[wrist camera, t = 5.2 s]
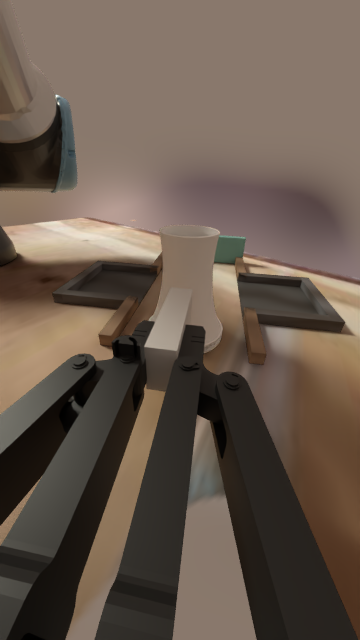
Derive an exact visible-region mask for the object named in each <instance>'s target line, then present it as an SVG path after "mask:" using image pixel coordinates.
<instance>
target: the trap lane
mask: <svg viewBox="0 0 360 640" xmlns="http://www.w3.org/2000/svg"><path fill="white" fill-rule="evenodd" d="M162 268H163V258H162V252H161V254H160V255H159V256H158V258H157V259H156V260H155V262H154V263H153V264H152V265H143V264H131V263H119V262H106V261H97V262H96V263H94V264H93V265H91V266H90V267H89V268H87V269H86V270H84V271H83V272H81V273H80V274H79V275H77V276H76V277H74V278H73V279H71V280H70V281H69V282H67V283H66V284H64V285H63V286H61V287H60V288H59V289H57V290H56V291H54V292H53V293H52V295H53V298H54V302H59V303H69V304H78V305H88V306H97V307H107V308H117V309H118V310H117V311H116V312H115V313H114V315H113V316H112V317H111V319H110V320H109V321H108V323H107V324H106V325H105V326H104V328H103V329H102V330H101V332H100V333H99V340H100V345H107V346H112V343H111V342H112V341H113V340H114V339H116V338H118V337H119V336H120V334H121V332H122V331H123V329H124V328H125V326H126V325H127V323H128V321H129V320H130V318H131V317H132V315H133V313H134V312H135V310H136V309H137V307H138V306H139V304H140V302H141V301H142V299H143V298H144V296H145V295H146V293H147V291H148V290H149V288H150V287H151V285H152V284H153V282H154V280H155V279H156V277H157V276H158V274H159V272H160V271H161V269H162ZM235 269H236V276H237V283H238V290H239V297H240V303H241V310H242V317H243V324H244V331H245V338H246V345H247V352H248V359H249V363H253V364H261V365H263V364H264V361H265V357H266V350H265V346H264V342H263V338H262V334H261V330H260V326H259V323H261V324H270V325H280V326H289V327H299V328H309V329H318V330H328V331H337V332H341V330H342V328H343V326H344V324H345V322H344V320H343V319H342V318H341V317H340V316H339V314H338V313H337V312H336V311H335V309H334V308H333V307H332V306H331V305H330V303H329V302H328V301H327V300H326V299H325V297H324V296H323V295H322V294H321V293H320V291H319V290H318V289H317V288H316V287H315V285H314V284H313V283H312V282H311V281H310V279H309V278H303V277H291V276H278V275H266V274H254V273H246V270H245V266H244V262H243V258H241V257H236V259H235Z"/></svg>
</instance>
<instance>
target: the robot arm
mask: <svg viewBox="0 0 360 640" xmlns="http://www.w3.org/2000/svg"><path fill="white" fill-rule="evenodd" d="M76 185H77V165H76V155H75V143H74V133H73V125H72V116H71V109H70V105H69V102H68V101H67V100H66V99H65V98H62V97H60V96H59V95H55V94H54V92H53V89H52V87H51V84H50V82H49V81H48V79H47V78H46V76H45V75H44V74H43V72H42V71H41V70H40V69H39V68H38V67H37V66H36V65H34V64H33V63H32V62H31V61H30V58H29V55H28V52H27V48H26V45H25V42H24V39H23V36H22V32H21V29H20V26H19V23H18V20H17V17H16V14H15V11H14V7H13V4H12V1H11V0H0V191H36V192H52V193H55V192H57V191H71V190H73V189H74V188H75V187H76ZM16 256H17V253H16V250H15V247H14V244H13V242H12V241H11V239H10V238H9V237H8V235H7V234H6V233H5V231H4V230H3V228H2V227H1V226H0V266H1V265H4V264H6V263H8V262H10V261H12V260H14V259H15V258H16ZM192 294H193V289H183V288H172V287H171V289H170V291H169V293H168V295H167V297H166V300H165V302H164V304H163V306H162V308H161V311H160V313H159V315H158V317H157V319H156V322H154V321H145V320H144V321H142V322H141V323H139V324H138V325H137V327H136V329H135V331H134V332H133V334H132V336H130V335H125V336H120V337H118V338H116V339H114V340H113V341H112V342H111V343H112V349H113V358H112V359H109V360H102V361H95V359H94V357H93V356H92V355H90V354H78V355H75V356H73V357H71V358H70V359H68V360H67V361H66V362H64V363H63V364H62V365H61V366H59V367H58V368H57V369H56V370H55V371H53V372H52V373H51V374H50V375H48V376H47V377H46V378H45V379H43V380H42V381H41V382H40V383H39V384H37V385H36V386H35V387H34V388H32V389H31V390H30V391H29V392H27V393H26V394H25V395H24V396H23V397H21V398H20V399H19V400H18V401H16V402H15V403H14V404H13V405H12V406H10V407H9V408H8V409H7V410H5V411H4V412H3V413H2V414H0V525H1V524H2V523H3V522H4V521H5V520H6V518H7V517H8V516H9V515H10V514H11V512H12V511H13V510H14V509H15V508H16V506H17V505H18V504H19V503H20V502H21V500H22V499H23V498H24V497H25V496H26V494H27V493H28V492H29V491H30V490H31V488H32V487H33V486H34V485H35V484H36V483H37V481H38V480H39V479H40V478H41V477H42V478H41V479H40V481H39V483H38V484H37V486H36V488H35V490H34V491H33V493H32V495H31V496H30V498H29V500H28V501H27V503H26V505H25V506H24V508H23V510H22V511H21V513H20V515H19V516H18V518H17V520H16V522H15V523H14V525H13V527H12V528H11V530H10V532H9V533H8V535H7V537H6V538H5V540H4V541H3V543H2V544H1V546H0V640H65V639H66V636H67V633H68V630H69V627H70V623H71V620H72V617H73V613H74V608H75V602H76V594H77V589H78V585H79V582H80V579H81V576H82V573H83V570H84V567H85V565H86V562H87V559H88V556H89V553H90V550H91V547H92V544H93V542H94V539H95V536H96V533H97V530H98V527H99V524H100V522H101V519H102V516H103V513H104V510H105V507H106V504H107V501H108V499H109V496H110V493H111V490H112V487H113V484H114V481H115V479H116V476H117V473H118V470H119V467H120V464H121V461H122V458H123V456H124V453H125V450H126V447H127V444H128V441H129V438H130V435H131V433H132V430H133V427H134V424H135V421H136V418H137V415H138V413H139V410H140V407H141V404H142V401H143V398H144V387H145V384H146V385H147V389H152V390H159V391H166V393H165V397H164V401H163V404H162V408H161V412H160V416H159V420H158V423H157V427H156V431H155V435H154V439H153V442H152V446H151V450H150V454H149V458H148V461H147V465H146V469H145V473H144V477H143V480H142V484H141V488H140V492H139V496H138V499H137V503H136V507H135V511H134V514H133V518H132V522H131V526H130V530H129V533H128V537H127V541H126V545H125V549H124V552H123V556H122V560H121V564H120V567H119V571H118V574H117V577H116V579H115V581H114V583H113V585H112V587H111V589H110V592H109V594H108V597H107V600H106V602H105V606H104V609H103V612H102V615H101V619H100V622H99V626H98V630H97V633H96V637H95V640H172V637H173V628H174V618H175V610H176V600H177V591H178V582H179V573H180V564H181V555H182V545H183V537H184V528H185V519H186V510H187V500H188V491H189V482H190V473H191V464H192V455H193V446H194V437H195V427H196V418H197V415H199V416H201V417H203V418H205V419H207V420H210V424H211V428H212V433H213V438H214V442H215V447H216V452H217V456H218V461H219V466H220V470H221V475H222V480H223V484H224V489H225V494H226V498H227V503H228V508H229V512H230V517H231V522H232V526H233V531H234V536H235V540H236V545H237V549H238V554H239V559H240V563H241V568H242V572H243V578H244V582H245V587H246V591H247V596H248V601H249V606H250V610H251V615H252V620H253V624H254V629H255V634H256V638H257V640H358V638H357V636H356V633H355V631H354V629H353V626H352V624H351V622H350V619H349V617H348V615H347V612H346V610H345V608H344V605H343V603H342V601H341V598H340V596H339V594H338V592H337V589H336V587H335V585H334V582H333V580H332V578H331V575H330V573H329V571H328V568H327V566H326V564H325V561H324V559H323V557H322V554H321V552H320V550H319V547H318V545H317V543H316V541H315V538H314V536H313V534H312V531H311V529H310V527H309V524H308V522H307V520H306V517H305V515H304V513H303V510H302V508H301V506H300V503H299V501H298V499H297V496H296V494H295V492H294V489H293V487H292V485H291V483H290V480H289V478H288V476H287V473H286V471H285V469H284V466H283V464H282V462H281V459H280V457H279V455H278V452H277V450H276V448H275V445H274V443H273V441H272V438H271V436H270V434H269V431H268V429H267V427H266V425H265V422H264V420H263V418H262V415H261V413H260V411H259V408H258V406H257V404H256V401H255V399H254V397H253V394H252V392H251V390H250V387H249V385H248V383H247V381H246V380H245V378H244V377H242V376H241V375H240V374H237V373H234V372H224V373H221V374H220V375H219V376H218V375H216V374H213V373H211V372H210V371H208V370H207V369H206V368H205V367H204V365H203V353H204V344H205V334H206V331H205V329H204V328H203V326H196V325H190V324H191V309H192ZM42 475H43V476H42Z"/></svg>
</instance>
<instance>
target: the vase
mask: <svg viewBox="0 0 360 640" xmlns="http://www.w3.org/2000/svg"><path fill="white" fill-rule="evenodd" d="M159 231H160V237H161V245H162V258H163V273H162V284H161V290H160V295H159V300H158V303H157V307H156V310H155V312H154V314H153V315H152V316H151V317H150V319H149V320H148V321H154V322H156V319H157V317H158V315H159V313H160V311H161V308H162V306H163V304H164V302H165V300H166V297H167V295H168V293H169V291H170V289H171V287H172V288H183V289H193V294H192V309H191V324H190V325H196V326H203V328H204V329H205V331H206V334H205V344H204V353H206V352H209V351H211V350H212V349H214V348H215V347H216V346H217V345H218V344H219V343H220V341H221V337H222V330H223V327H222V323H221V321H220V320H219V319H218V318H217V315H216V311H215V306H214V300H213V289H212V276H213V264H214V257H215V252H216V247H217V242H218V238H219V234H220V231H219V230H217V229H214V228H210V227H205V226H197V225H172V226H166V227H163V228H160V230H159ZM219 324H220V325H219ZM204 353H203V354H204Z"/></svg>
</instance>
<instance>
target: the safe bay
mask: <svg viewBox="0 0 360 640" xmlns="http://www.w3.org/2000/svg"><path fill="white" fill-rule="evenodd" d="M245 240H246V238H245V237H234V236H220V235H219V238H218V242H217V247H216V252H215V257H214V262H221V263H234V264H235V259H236V257H241V258H243V252H244V246H245Z"/></svg>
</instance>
